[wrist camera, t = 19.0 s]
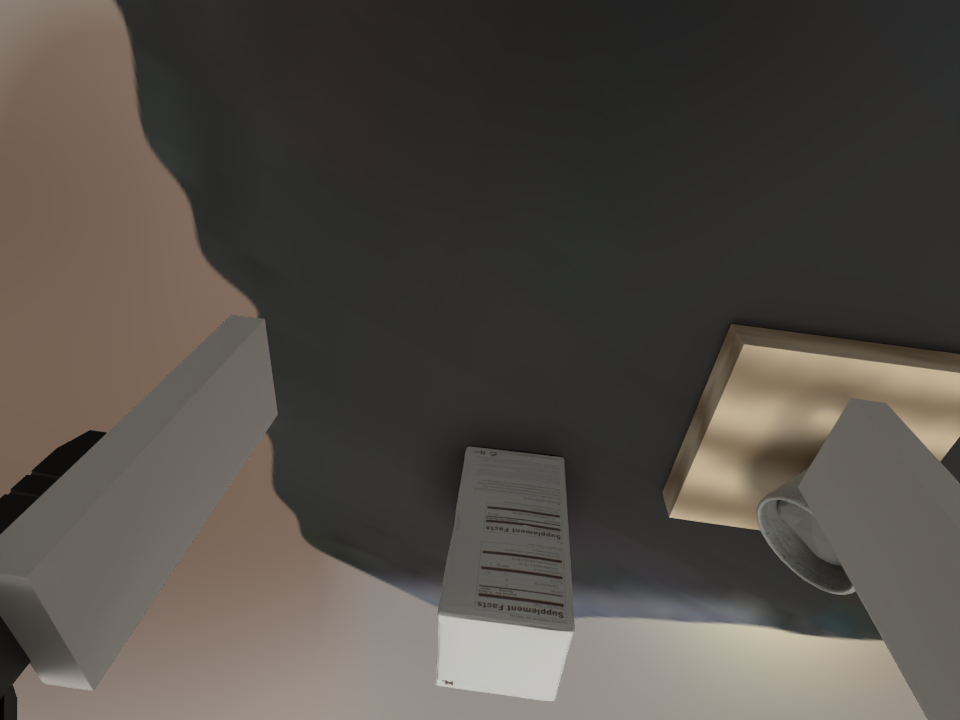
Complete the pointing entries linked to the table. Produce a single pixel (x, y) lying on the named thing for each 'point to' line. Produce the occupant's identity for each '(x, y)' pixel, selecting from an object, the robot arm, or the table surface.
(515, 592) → the supplement box
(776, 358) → the square wooden tile
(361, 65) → the table surface
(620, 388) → the table surface
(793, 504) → the ceramic mug
